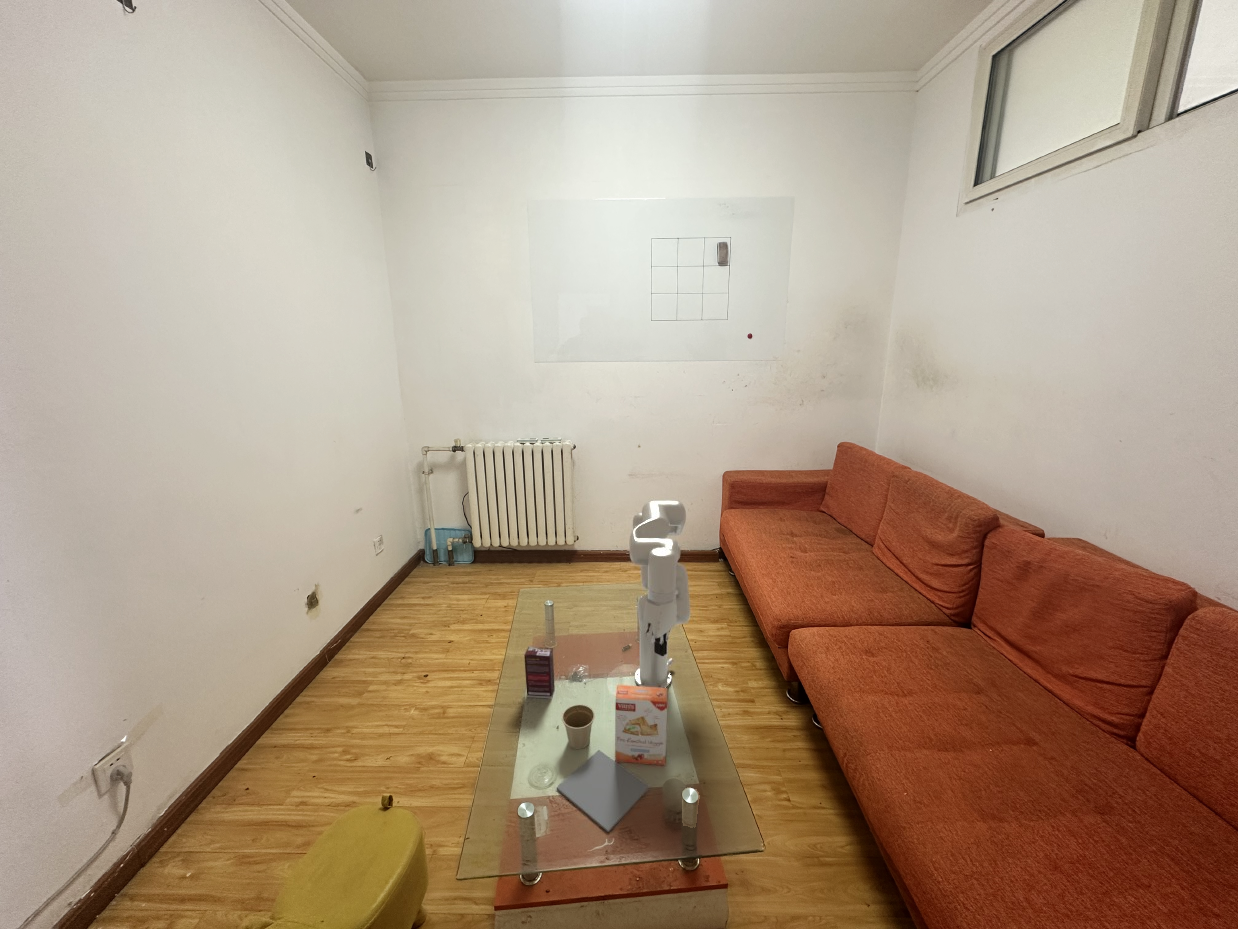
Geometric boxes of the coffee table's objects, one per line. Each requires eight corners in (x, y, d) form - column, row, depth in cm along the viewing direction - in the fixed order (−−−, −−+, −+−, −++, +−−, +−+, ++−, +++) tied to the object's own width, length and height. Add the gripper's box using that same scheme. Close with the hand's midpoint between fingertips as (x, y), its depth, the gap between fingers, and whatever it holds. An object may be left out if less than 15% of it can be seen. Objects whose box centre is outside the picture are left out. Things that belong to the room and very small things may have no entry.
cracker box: (614, 763, 135) (614, 698, 130) (616, 746, 140) (616, 683, 136) (665, 767, 133) (667, 701, 128) (665, 749, 139) (667, 686, 134)
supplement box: (555, 689, 164) (553, 647, 160) (551, 699, 159) (550, 656, 156) (529, 687, 165) (527, 646, 161) (526, 697, 160) (523, 655, 156)
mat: (598, 751, 139) (598, 749, 138) (649, 787, 127) (649, 785, 127) (556, 789, 127) (556, 787, 127) (608, 832, 115) (608, 830, 115)
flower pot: (565, 757, 137) (564, 731, 135) (560, 732, 145) (559, 707, 143) (598, 750, 139) (597, 724, 137) (591, 726, 148) (590, 701, 146)
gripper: (666, 579, 140) (665, 636, 144) (633, 599, 129) (633, 660, 133) (688, 587, 135) (686, 646, 140) (656, 608, 124) (655, 672, 129)
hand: (660, 653), depth 137 cm, fingers closed
